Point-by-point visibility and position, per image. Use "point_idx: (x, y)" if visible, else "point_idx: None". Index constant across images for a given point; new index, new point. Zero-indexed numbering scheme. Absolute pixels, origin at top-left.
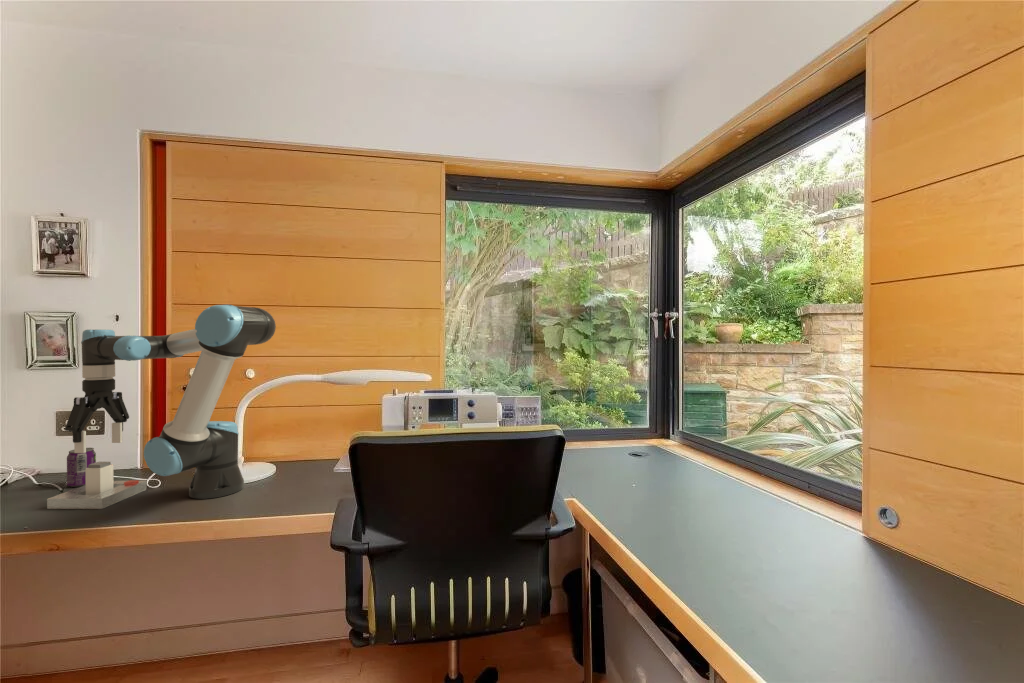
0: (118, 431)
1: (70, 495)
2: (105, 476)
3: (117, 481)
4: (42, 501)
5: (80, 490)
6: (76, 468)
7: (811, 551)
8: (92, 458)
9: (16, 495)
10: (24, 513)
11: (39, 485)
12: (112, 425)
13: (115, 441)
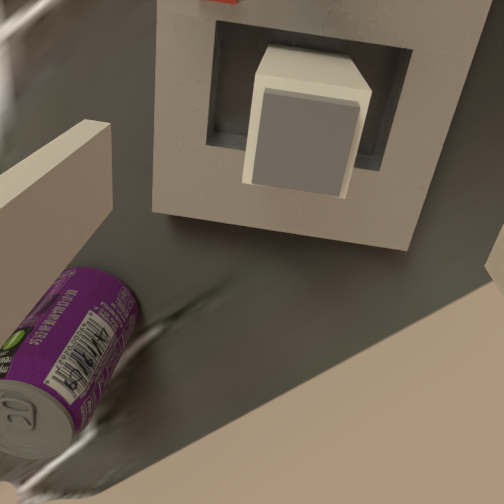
0: (54, 191)
1: (382, 181)
2: (323, 70)
3: (169, 95)
4: (293, 303)
5: None
6: (108, 349)
7: None
8: (35, 340)
9: (212, 415)
10: (431, 274)
11: (110, 417)
12: (17, 315)
13: (108, 178)
